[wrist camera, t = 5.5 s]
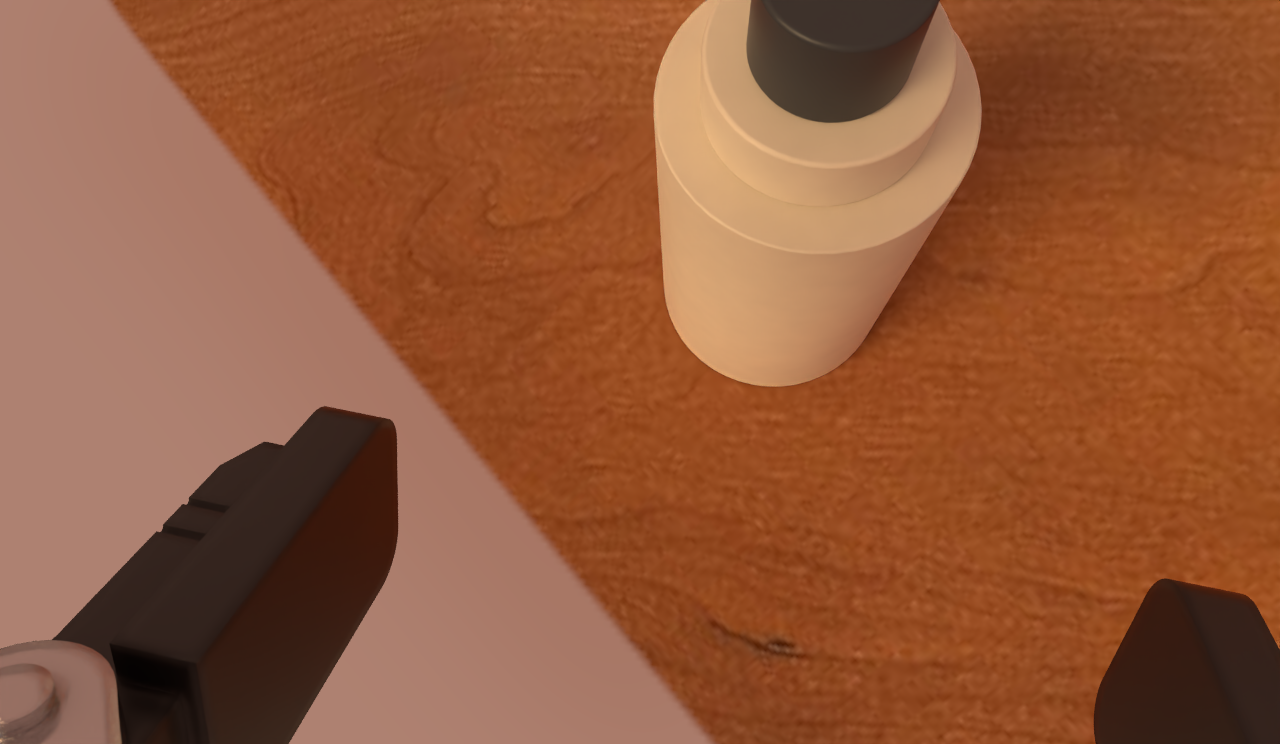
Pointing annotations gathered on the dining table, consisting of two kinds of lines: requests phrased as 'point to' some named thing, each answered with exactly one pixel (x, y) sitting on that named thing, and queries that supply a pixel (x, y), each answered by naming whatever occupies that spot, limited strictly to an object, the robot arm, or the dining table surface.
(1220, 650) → the robot arm
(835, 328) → the cream bottle
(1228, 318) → the dining table surface
